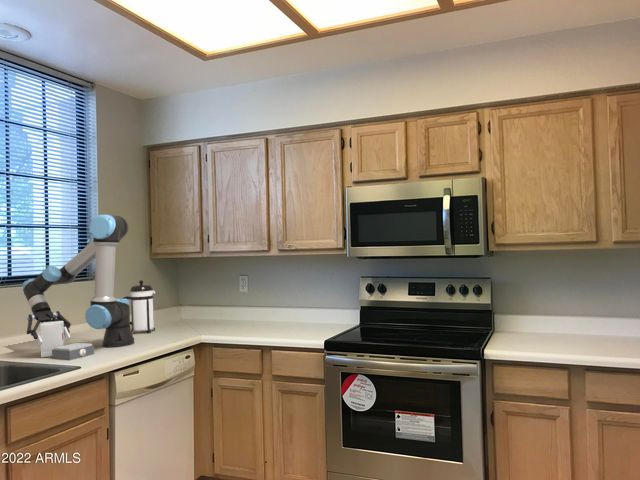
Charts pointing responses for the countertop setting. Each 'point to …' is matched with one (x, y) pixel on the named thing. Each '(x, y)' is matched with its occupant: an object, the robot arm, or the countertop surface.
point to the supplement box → (51, 337)
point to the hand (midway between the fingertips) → (55, 341)
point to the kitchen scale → (72, 351)
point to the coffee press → (141, 307)
